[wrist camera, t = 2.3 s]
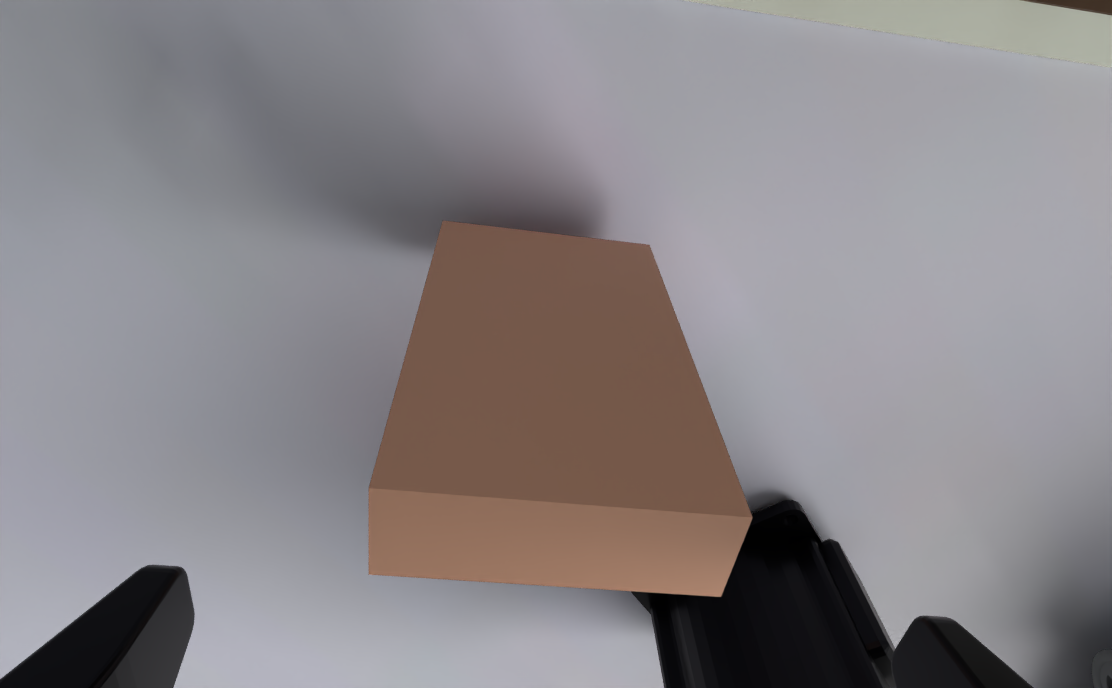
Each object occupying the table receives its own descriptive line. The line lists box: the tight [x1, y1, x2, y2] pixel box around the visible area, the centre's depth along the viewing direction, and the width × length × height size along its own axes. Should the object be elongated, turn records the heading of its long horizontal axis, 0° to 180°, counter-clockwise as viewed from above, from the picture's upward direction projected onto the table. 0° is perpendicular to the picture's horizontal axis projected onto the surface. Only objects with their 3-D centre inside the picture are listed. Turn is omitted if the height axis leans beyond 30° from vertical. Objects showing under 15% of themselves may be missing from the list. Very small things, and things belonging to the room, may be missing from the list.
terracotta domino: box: [369, 221, 753, 597], centre depth 13 cm, size 2×5×9 cm, turn 82°
